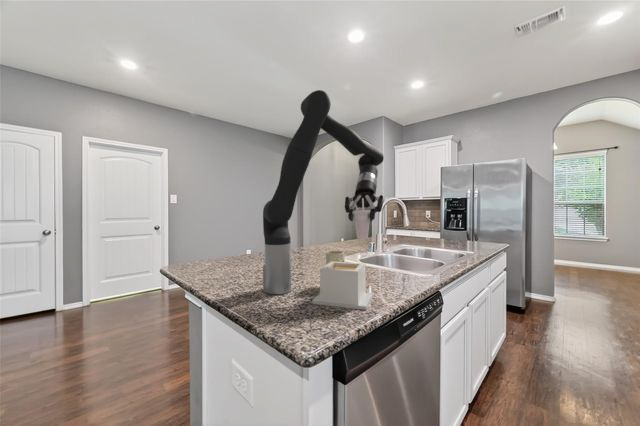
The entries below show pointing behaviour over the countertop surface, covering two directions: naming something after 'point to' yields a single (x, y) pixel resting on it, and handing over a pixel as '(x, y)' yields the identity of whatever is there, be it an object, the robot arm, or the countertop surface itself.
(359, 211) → the smoothie
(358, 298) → the white open box
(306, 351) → the countertop surface
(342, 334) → the countertop surface
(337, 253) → the character mug
